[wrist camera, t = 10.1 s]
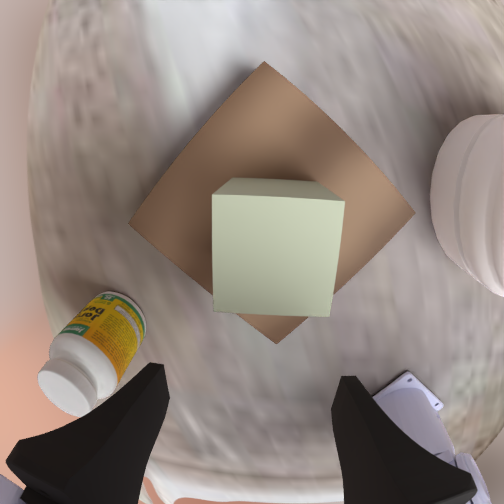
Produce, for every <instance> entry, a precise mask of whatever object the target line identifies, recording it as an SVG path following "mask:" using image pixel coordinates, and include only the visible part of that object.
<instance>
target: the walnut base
mask: <svg viewBox="0 0 504 504" xmlns="http://www.w3.org/2000/svg"><path fill="white" fill-rule="evenodd" d="M231 178H262V179H283V180H300V181H314V182H319V183H320V184H321V185H323V186H324V187H326V188H327V189H329V190H330V191H331V192H333V193H334V194H336V195H337V196H338V197H340V198H341V199H342V200H344V201H345V207H344V217H343V226H342V234H341V243H340V250H339V258H338V265H337V272H336V279H335V285H334V292H333V295H334V294H335V293H336V292H337V291H338V290H339V289H340V288H341V287H342V286H344V285H345V284H346V283H347V282H348V281H349V280H350V279H351V278H352V277H353V276H354V275H355V274H356V273H357V272H358V271H359V270H360V269H361V268H362V267H364V266H365V265H366V264H367V263H368V262H369V261H370V260H371V259H372V258H373V257H374V256H375V255H376V254H377V253H378V252H379V251H380V250H381V249H382V248H383V247H384V246H385V245H386V244H387V243H388V242H389V241H390V240H391V239H392V238H393V236H394V235H395V234H396V233H397V232H398V231H399V230H400V229H401V228H402V227H403V226H404V225H405V224H406V223H407V222H408V221H409V220H410V219H411V218H412V216H413V215H414V214H415V211H414V210H413V209H412V208H411V206H410V205H409V204H408V202H407V201H406V200H405V199H404V197H403V196H402V195H401V194H400V193H399V191H398V190H397V189H396V188H395V187H394V185H393V184H392V183H391V182H390V181H389V179H388V178H387V177H386V176H385V175H384V174H383V173H382V171H381V170H380V169H379V168H378V167H377V166H376V165H375V164H374V162H373V161H372V160H371V159H370V158H369V157H368V156H367V155H366V154H365V153H364V152H363V150H362V149H361V148H360V147H359V146H358V145H357V144H356V143H355V142H354V141H353V140H352V139H351V138H350V137H349V136H348V135H347V134H346V133H345V132H344V131H343V130H342V129H341V128H340V127H339V126H338V125H337V124H336V123H335V122H334V121H333V120H332V119H331V118H330V117H329V116H328V115H327V114H326V113H324V112H323V111H322V110H321V109H320V108H319V107H318V106H317V105H316V104H315V103H314V102H313V101H311V100H310V99H309V98H308V97H307V96H306V95H305V94H303V93H302V92H301V91H300V90H299V89H298V88H297V87H295V86H294V85H293V84H292V83H291V82H289V81H288V80H287V79H286V78H285V77H283V76H282V75H281V74H280V73H279V72H277V71H276V70H275V69H274V68H272V67H271V66H270V65H268V64H267V63H266V62H265V61H264V62H263V63H262V64H261V65H260V66H259V67H258V68H257V69H256V70H255V71H254V72H253V73H252V74H251V75H250V76H249V77H248V78H247V79H246V80H245V81H244V82H243V83H242V84H241V85H240V86H239V87H238V88H237V89H236V90H235V91H234V92H233V93H232V94H231V95H230V96H229V98H228V99H227V100H226V101H225V102H224V103H223V104H222V105H221V106H220V107H219V108H218V110H217V111H216V112H215V113H214V114H213V115H212V116H211V117H210V119H209V120H208V121H207V122H206V123H205V124H204V125H203V127H202V128H201V129H200V130H199V131H198V132H197V134H196V135H195V136H194V137H193V138H192V140H191V141H190V142H189V143H188V144H187V146H186V147H185V148H184V149H183V150H182V152H181V153H180V154H179V155H178V157H177V158H176V159H175V160H174V162H173V163H172V164H171V166H170V167H169V168H168V169H167V171H166V172H165V173H164V175H163V176H162V177H161V179H160V180H159V181H158V182H157V184H156V185H155V187H154V188H153V189H152V191H151V192H150V193H149V195H148V196H147V197H146V199H145V200H144V202H143V203H142V204H141V206H140V207H139V209H138V210H137V211H136V213H135V214H134V216H133V217H132V219H131V220H130V222H129V223H128V224H129V225H130V226H131V227H132V228H134V229H135V230H136V231H137V232H138V233H139V234H140V235H141V236H143V237H144V238H145V239H146V240H147V241H148V242H149V243H151V244H152V245H153V246H154V247H155V248H156V249H158V250H159V251H160V252H161V253H162V254H163V255H165V256H166V257H167V258H168V259H169V260H170V261H172V262H173V263H174V264H175V265H176V266H178V267H179V268H180V269H181V270H182V271H184V272H185V273H186V274H187V275H188V276H190V277H191V278H192V279H193V280H195V281H196V282H197V283H198V284H199V285H201V286H202V287H203V288H204V289H206V290H207V291H208V292H209V293H211V294H212V295H213V269H212V194H213V193H214V192H216V191H217V190H218V189H219V188H220V187H222V186H223V185H224V184H225V183H226V182H228V181H229V180H230V179H231ZM236 314H237V315H238V316H240V317H241V318H242V319H244V320H245V321H246V322H247V323H249V324H250V325H251V326H253V327H254V328H255V329H257V330H258V331H259V332H261V333H262V334H263V335H265V336H266V337H267V338H269V339H270V340H271V341H273V342H274V343H275V344H277V343H279V342H280V341H281V340H282V339H283V338H285V337H286V336H287V335H288V334H289V333H291V332H292V331H293V330H294V329H295V328H296V327H298V326H299V325H300V324H301V323H302V322H303V321H305V320H306V319H307V318H308V317H309V316H281V315H259V314H241V313H236Z"/></svg>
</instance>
